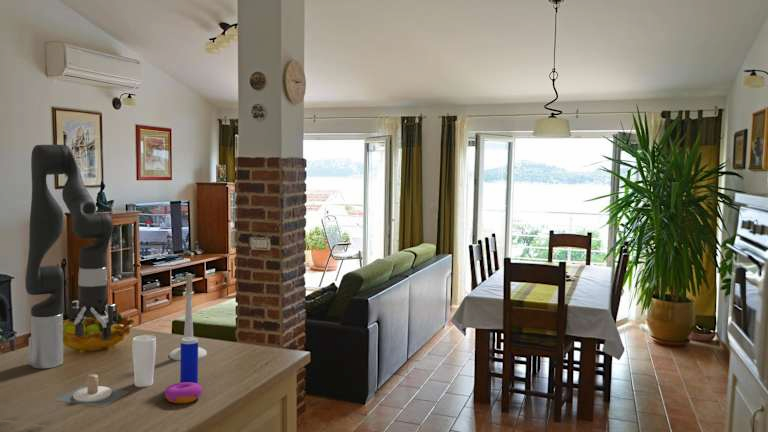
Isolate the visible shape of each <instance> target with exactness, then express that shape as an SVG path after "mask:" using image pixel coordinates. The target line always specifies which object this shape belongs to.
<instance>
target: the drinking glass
mask: <svg viewBox="0 0 768 432" xmlns="http://www.w3.org/2000/svg"><path fill="white" fill-rule="evenodd" d="M131 350H132V353H131V354H132V363H133V372H134V373H133V375H134V386H135V387H138V388H145V387H150V386H152V385H153V384H154V373H155V363H156V362H155V361H156V354H157V337H156V336H155V335H152V334H151V335H150V334H146V335H138V336H134V337H133V338H132V346H131Z"/></svg>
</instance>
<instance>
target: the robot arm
mask: <svg viewBox="0 0 768 432" xmlns="http://www.w3.org/2000/svg"><path fill="white" fill-rule="evenodd" d="M30 157H31V158H30V160H31V162H30V169H31V171H30V172H31V202H30V205H31V206H30V215H29V242H28V243H29V244H28V245H29V246H28V256H27V263H26V270H25V271H26V272H25V279H24V280H25V284H24V285H25V290H26V292H27V294H28V295H31V296H38V295H49V297H47V298H46V299H45V300H43V301H40V302H39V303H36V304H34V305H32V307H31V308H30V326H31V327H30V329H31V330H30V334H31V336H29V337H28V366H30V367H32V368H34V369H52V368H56V367H59V366H61V365H62V364H63V363H64V325H63V324H64V311H63V310H64V309H63V308H64V307H63V305H64V286H65V285H64V284H65V283H64V282H65V274H64V269H63V268H62V267H61V266H60V265H43V266H41V264H42V261H43V259H44V257H45V255H46V254H47V252H48V251H49V250H50V249H51V248H52V247H53V246H54V245H55V243H56V242H57V241H58V239H59V238H60V237H61V235H62V233H63V228H64V227H63V225H64V212H63V210H62V207H61V206H60V204H59V203H58V201H57V200H56V199H55V198H54V195H52V193H51V191H50V189H49V187H48V184H47V176H49V175H52V176H53V175H65V176H67V179H66V182H65V183H64V186H63V188H62V192H61V195H62V200H63V202H64V204H65V206H66V208H67V210H68V211H69V214H70V219H71V229H72V234H73V235H74V236H75V237H77V238H79V239H95V240H94V242H93V243H92V244H89V245H87V246H83V247H81V248H80V249H79V252H78V254H79V255H78V259H79V261H78V264H79V265H78V266H79V267H78V275H77V277H78V278H77V281H78V282H77V283H78V289H77V290H78V291H77V294H78V299H75V300H72V301H69V303H68V321H69V322H70V323H73V324H74V326H75V328H74V329H75V330H74V331H75V332H74V334H75V336H76V338H81V337H84V335H85V334H84V333H85V331H84V329H85V324H84V321H86V319H89V318H91V319H95V320H97V322H99V323H100V324H101V326H102V329H101V332H102V337H101V338H102V339H101V340H102V341H107V340H109V339H110V338H111V336H112V335H111V332H112V331H111V330H112V328H111V327H112V326H114V325H117V324H118V322H119V321H118V305H117V304H116V303H113V304H108V303H107V298H108V271H107V253H108V249H109V245H110V241H111V238H112V234H113V231H114V222H113V219H112V217H111V216H110V215H109V214H108V213H104V212H100V213H99V212H98V213H95V212H96V209H97V205H96V203H95V202H94V199H93V197H92V195H91V194H90V193H89V190H87V188H86V185H85V183H84V180H83V177H82V174H81V171H80V167H79V164H78V162H77V159H76V156H75V155H74V152H73V150H72V149H71V148H70V147H69V146H68V145H65V144H36V145H34V147H33V149H32V151H31V156H30ZM79 309H80V311H79Z"/></svg>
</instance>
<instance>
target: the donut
mask: <svg viewBox="0 0 768 432" xmlns="http://www.w3.org/2000/svg"><path fill="white" fill-rule="evenodd" d="M202 392H203V388H202V386H201V385H200V384H199V383H198V384H197V383H192V382H183V383H180V382H178V383H177V382H176V383H173V384H171V385H169V386H167V387H166V388H165V390H164V396H165V398H166V400H167V401H168V402H170V403H173V404H189V403H192V402H193V401H196V400H197V399H199V397H201V394H202Z"/></svg>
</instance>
